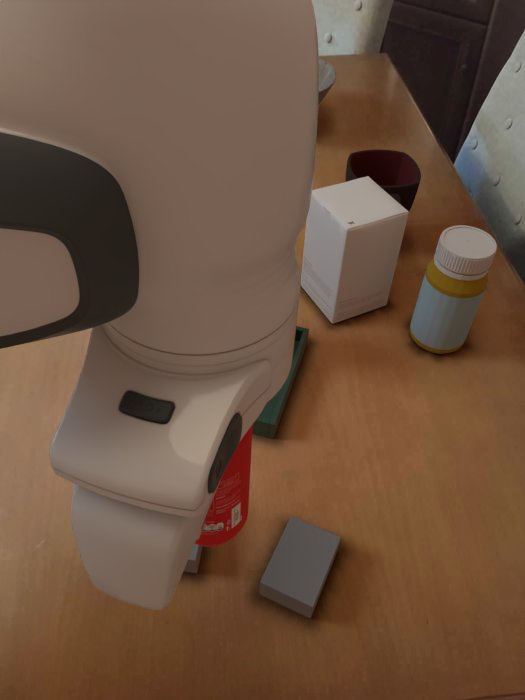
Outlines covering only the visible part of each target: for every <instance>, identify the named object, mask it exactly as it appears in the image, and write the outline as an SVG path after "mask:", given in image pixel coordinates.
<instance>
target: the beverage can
mask: <svg viewBox="0 0 525 700" xmlns="http://www.w3.org/2000/svg"><path fill="white" fill-rule="evenodd" d="M252 429H253V424H252V426H251V427H250V428H249V430H248V431H247V432H246V434H245V435H244V436H243V438H242V439H241V441H240V442H239V445H238V447H237V449H236V451H235V452H234V454H233V456H232V458H231V460H230V461H229V463H228V465H227V467H226V469H225V471H224V473H223V476H222V478H221V481H220V483H219V486H218V488H217V490H216V493H215V495H214V498H213V500H212V503H211V505H210V507H209V510H208V512H207V519H206V522H205V525H204V527H203V530H202V532H201V535H200V537H199V539H198V540H196V542H195V544H197V545H200V546H203V547H205V548H212V547H218V546H219V547H220V546H221V545H225V544H226V543H228V542H230V541H231V540H232V539H233V538H234V537H236V536H237V535H238V534H239V533H240V532H241V531H242V529H243V528H244V526H245V524H246V523H247V519H248V515H249V503H250V487H251V486H250V484H251V468H252V467H251V466H252V445H253V433H252Z"/></svg>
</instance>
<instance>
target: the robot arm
mask: <svg viewBox="0 0 525 700" xmlns="http://www.w3.org/2000/svg"><path fill="white" fill-rule="evenodd" d="M319 55H320V54H319V37H318V29H317V18H316V13H315V9H314V3H313V1H312V0H0V350H1V349H7V348H12V347H15V346H20V345H24V344H31V343H34V342H35V343H36V342H40V341H43V340H44V341H45V340H48V339H49V340H50V339H53V338H57V337H61V336H66V335H69V334H70V335H71V334H74V333H79V332H82V331H87V330H89V329H91V332H90V336H89V340H88V345H87V350H86V354H85V357H84V361H83V365H82V368H81V371H80V373H79V376H78V380H77V382H76V384H75V387H74V390H73V392H72V394H71V397H70V399H69V402H68V404H67V406H66V408H65V410H64V413H63V415H62V417H61V420H60V422H59V423H58V425H57V428H56V430H55V433H54V434H53V437H52V440H51V443H50V446H49V453H48V457H49V463H50V466H51V468H52V471H53V472H54V474H55V475H56V476H58V477H60V478H62V479H63V480H65V481H68V482H70V483H72V484H74V485H73V489H72V494H71V499H70V522H71V528H72V532H73V536H74V539H75V542H76V546H77V549H78V552H79V556H80V558H81V561H82V564H83V567H84V569H85V571H86V573H87V576H88V578H89V580H90V581H91V583H92V585H93V586H94V587H95V588H96V589H97V590H98V591H100V592H101V593H103V594H105V595H107V596H109V597H112V598H114V599H116V600H119V601H122V602H125V603H126V604H129V605H133V606H136V607H139V608H143V609H147V610H152V611H162V610H164V609H165V608H166V607H167V606H168V605H169V604H170V603H171V602H172V600H173V598H174V597H175V594H176V592H177V589H178V586H179V583H180V581H181V579H182V576H183V573H184V568H185V566H186V564H187V561H188V559H189V556H190V554H191V551H192V549H193V547H194V544H195V542H196V540H198V539H199V537H200V535H201V532H202V530H203V527H204V525H205V522H206V519H207V512H208V510H209V507H210V505H211V503H212V500H213V498H214V495H215V493H216V490H217V488H218V486H219V483H220V481H221V478H222V476H223V473H224V471H225V469H226V467H227V465H228V463H229V461H230V460H231V458H232V456H233V454H234V452H235V451H236V449H237V447H238V445H239V442H240V441H241V439H242V438H243V436H244V435H245V434H246V432H247V431H248V430H249V428H250V427H251V426H252V424H253V423H254V422H255V420H256V419H257V418H258V416H259V415H260V413H261V412H262V410H263V409H264V407H265V405H266V403H267V402H268V401H269V400H271V399H272V398H273V397H274V396H275V395H276V394H277V392H278V391H279V390H280V389H281V387H282V386H283V384H284V383H285V381H286V379H287V377H288V375H289V372H290V369H291V364H292V358H293V349H294V341H295V332H296V326H297V322H298V314H299V306H300V297H301V288H302V287H301V269H300V263H299V259H298V256H297V249H296V248H297V241H298V238H299V236H300V234H301V232H302V231H303V228H304V225H305V224H306V219H307V215H308V212H309V208H310V203H311V195H312V190H313V185H314V184H313V183H314V173H315V165H316V163H315V162H316V154H317V153H316V152H317V139H318V137H317V136H318V120H319V106H318V98H319V57H320V56H319Z"/></svg>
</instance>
